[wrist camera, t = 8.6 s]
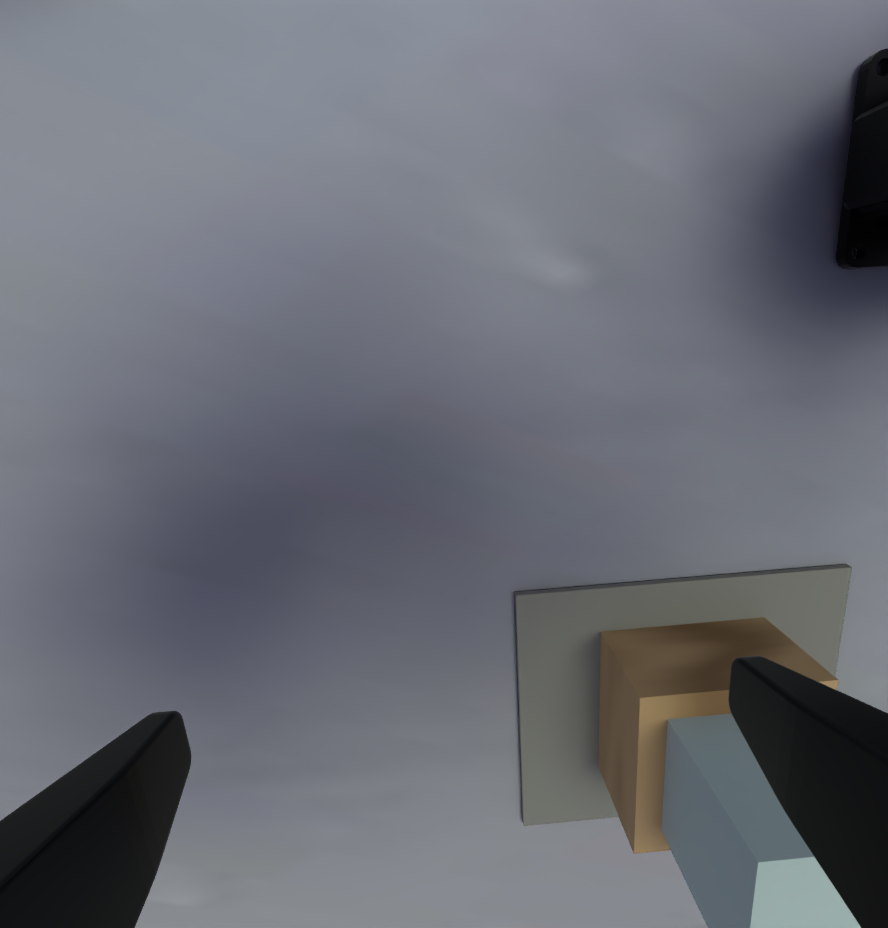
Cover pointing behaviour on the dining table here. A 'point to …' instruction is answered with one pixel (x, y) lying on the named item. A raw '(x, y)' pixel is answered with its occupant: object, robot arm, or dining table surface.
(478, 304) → the dining table surface
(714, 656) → the tan square block
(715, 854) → the slate block
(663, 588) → the mat
